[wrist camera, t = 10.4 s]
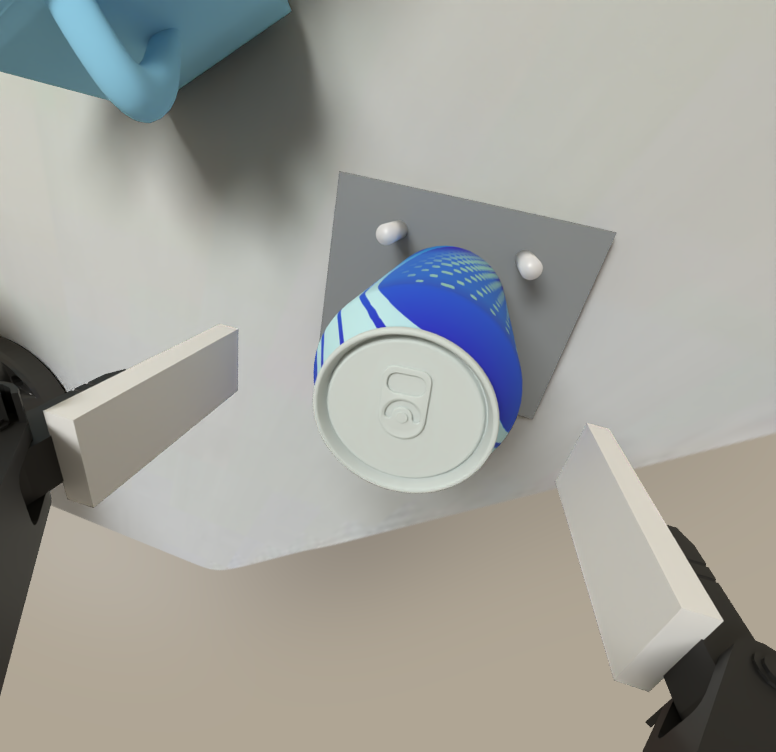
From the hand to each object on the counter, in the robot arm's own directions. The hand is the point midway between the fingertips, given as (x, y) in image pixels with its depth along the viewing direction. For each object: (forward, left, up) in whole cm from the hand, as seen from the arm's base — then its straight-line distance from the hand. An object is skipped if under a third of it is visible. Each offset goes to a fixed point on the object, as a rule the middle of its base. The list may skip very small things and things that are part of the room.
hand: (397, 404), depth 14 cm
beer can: (0, 0, -15) cm, 15 cm away
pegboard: (0, 0, -16) cm, 16 cm away
